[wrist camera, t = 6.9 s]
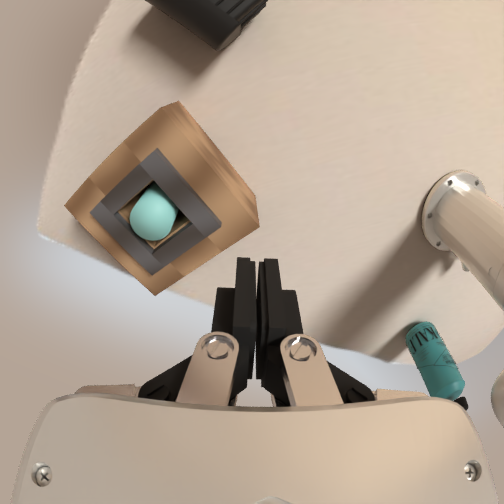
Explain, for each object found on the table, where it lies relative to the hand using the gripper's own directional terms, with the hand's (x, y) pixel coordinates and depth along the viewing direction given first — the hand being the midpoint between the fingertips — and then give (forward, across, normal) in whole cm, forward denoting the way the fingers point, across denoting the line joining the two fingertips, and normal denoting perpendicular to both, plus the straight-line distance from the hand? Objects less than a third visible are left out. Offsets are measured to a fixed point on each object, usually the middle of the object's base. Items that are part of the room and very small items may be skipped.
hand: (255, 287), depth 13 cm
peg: (+22, +9, +4) cm, 24 cm away
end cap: (+23, +6, -17) cm, 29 cm away
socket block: (+23, +9, +4) cm, 25 cm away
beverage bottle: (+25, -32, +28) cm, 49 cm away
